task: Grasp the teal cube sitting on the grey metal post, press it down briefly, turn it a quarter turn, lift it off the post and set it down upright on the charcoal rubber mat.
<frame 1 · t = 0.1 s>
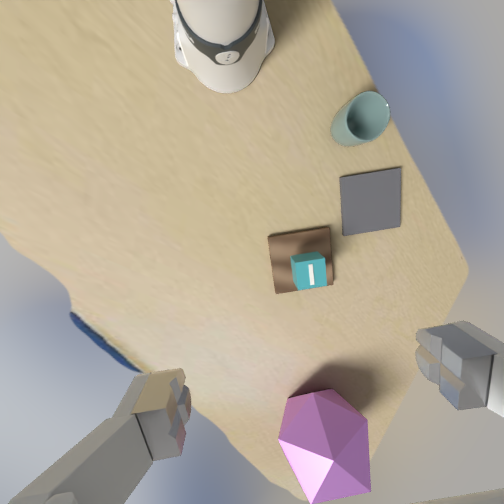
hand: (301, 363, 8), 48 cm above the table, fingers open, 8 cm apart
teal cube: (305, 266, 54), point 4 cm above the table, touching post base
mat: (369, 202, 55), on the table
post base: (300, 260, 58), on the table
cup: (343, 129, 51), on the table
icosahedron: (311, 403, 70), on the table
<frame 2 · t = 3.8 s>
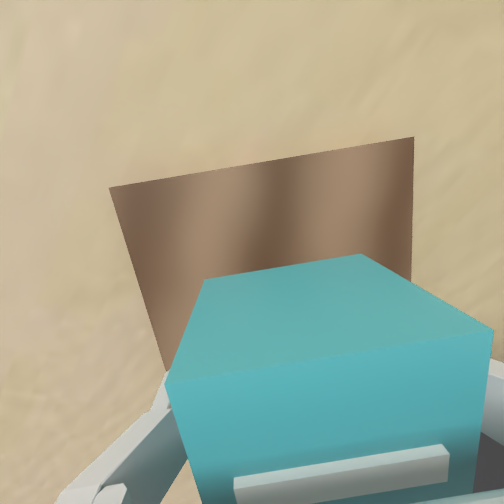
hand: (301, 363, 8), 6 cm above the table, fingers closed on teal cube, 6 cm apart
teal cube: (291, 334, 10), point 4 cm above the table, touching gripper, post base
mat: (444, 463, 19), on the table
post base: (276, 289, 14), on the table
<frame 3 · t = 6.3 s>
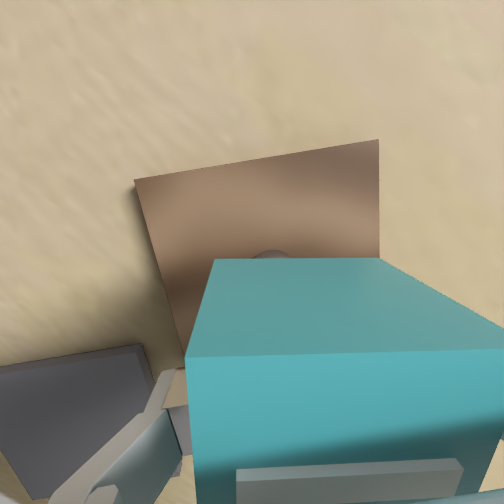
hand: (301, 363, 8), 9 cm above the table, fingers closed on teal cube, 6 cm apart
teal cube: (293, 329, 10), point 8 cm above the table, touching gripper
mat: (86, 421, 20), on the table
post base: (269, 265, 17), on the table
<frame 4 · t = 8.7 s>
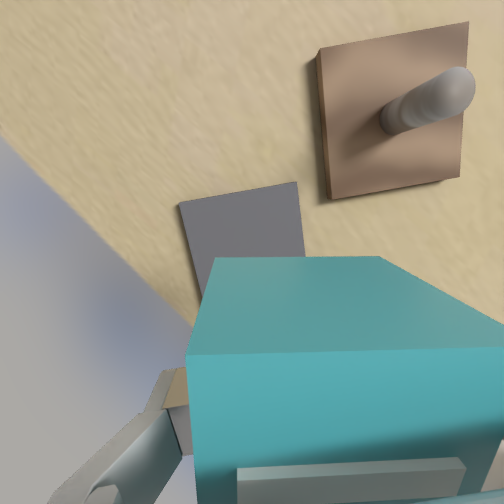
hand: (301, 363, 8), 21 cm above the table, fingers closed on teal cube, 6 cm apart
teal cube: (293, 328, 10), point 20 cm above the table, touching gripper
mat: (247, 247, 29), on the table
post base: (386, 121, 26), on the table
when the fingers open (4 cm above the table, at t = 11.8 s): teal cube drops 2 cm, resting on mat.
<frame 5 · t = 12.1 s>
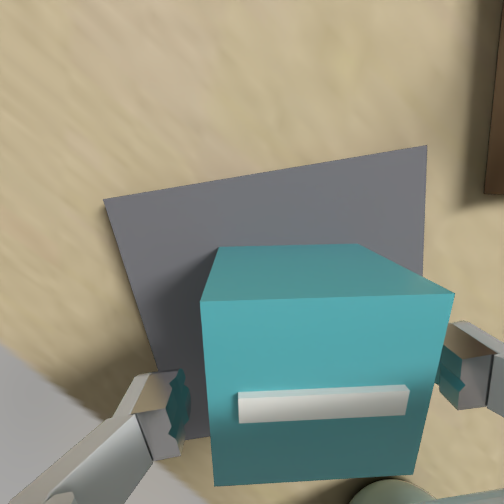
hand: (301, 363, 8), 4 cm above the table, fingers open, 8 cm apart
teal cube: (287, 307, 11), point 1 cm above the table, touching mat
mat: (281, 305, 12), on the table
cup: (380, 496, 17), on the table
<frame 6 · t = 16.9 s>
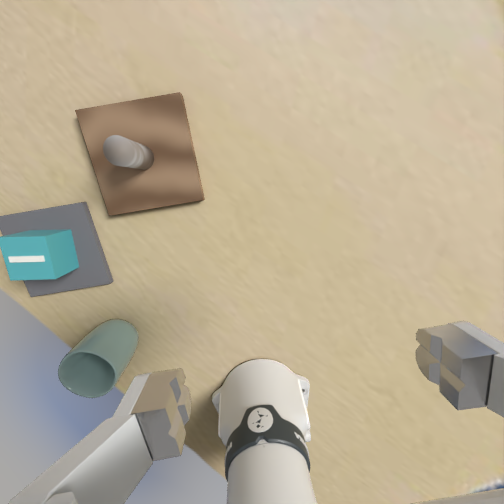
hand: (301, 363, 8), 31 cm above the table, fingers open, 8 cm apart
teal cube: (55, 249, 37), point 1 cm above the table, touching mat
mat: (59, 250, 38), on the table
post base: (146, 158, 35), on the table
cup: (122, 331, 43), on the table
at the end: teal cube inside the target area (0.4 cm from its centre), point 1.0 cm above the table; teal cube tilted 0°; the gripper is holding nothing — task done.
